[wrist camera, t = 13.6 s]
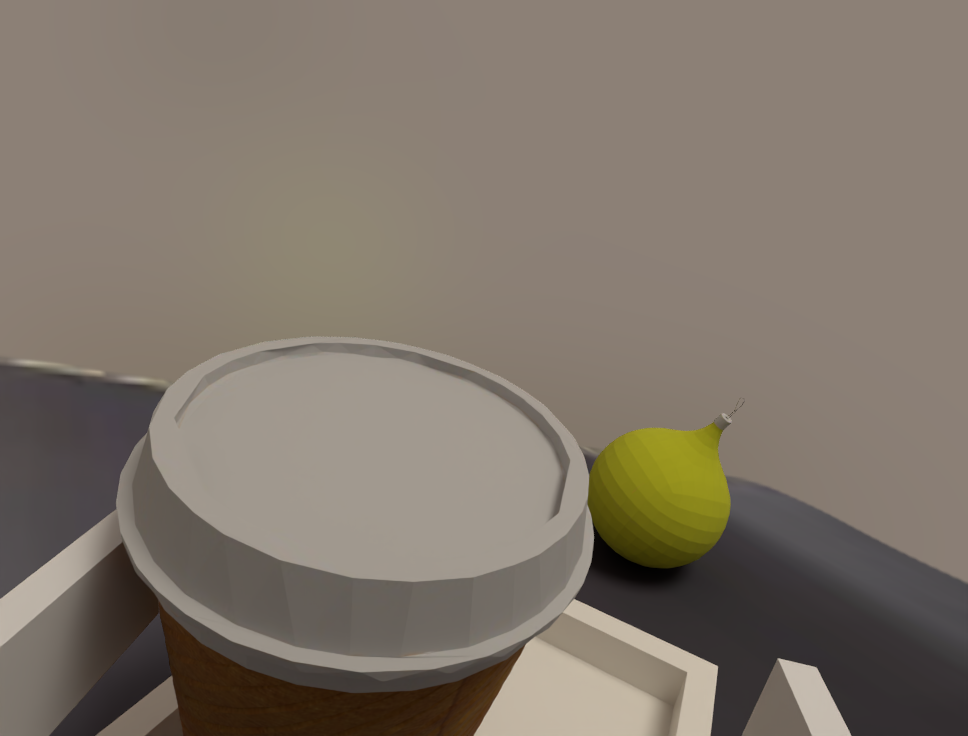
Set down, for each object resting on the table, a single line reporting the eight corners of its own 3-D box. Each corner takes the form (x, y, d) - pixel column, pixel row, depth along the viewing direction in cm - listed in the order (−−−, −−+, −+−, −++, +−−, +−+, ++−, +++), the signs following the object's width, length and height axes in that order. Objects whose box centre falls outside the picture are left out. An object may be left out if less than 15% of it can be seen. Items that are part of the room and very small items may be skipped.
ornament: (732, 599, 29) (805, 422, 26) (603, 601, 28) (664, 410, 24) (663, 513, 36) (715, 362, 32) (555, 510, 34) (598, 350, 31)
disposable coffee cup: (198, 628, 20) (214, 304, 15) (467, 647, 22) (556, 363, 17) (39, 1025, 12) (-36, 575, 7) (500, 1002, 13) (696, 635, 9)
